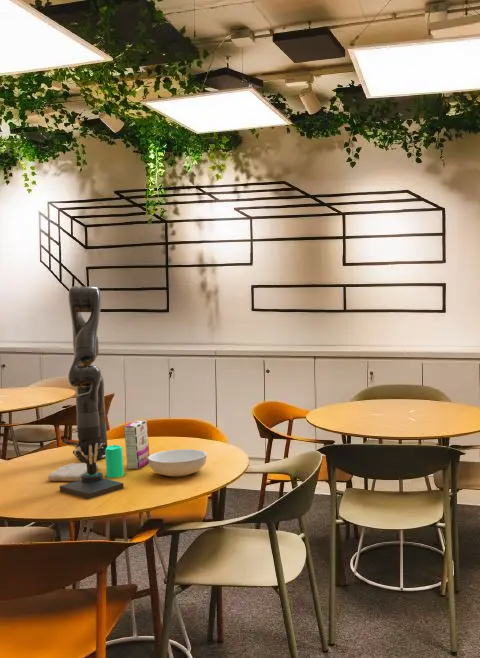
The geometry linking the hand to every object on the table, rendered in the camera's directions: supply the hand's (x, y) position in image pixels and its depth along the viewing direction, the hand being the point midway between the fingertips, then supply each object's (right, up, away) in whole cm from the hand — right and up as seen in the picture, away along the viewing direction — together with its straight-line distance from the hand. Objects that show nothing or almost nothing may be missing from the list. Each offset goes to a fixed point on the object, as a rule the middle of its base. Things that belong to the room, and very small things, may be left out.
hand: (91, 474), depth 232 cm
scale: (+1, -5, -6) cm, 7 cm away
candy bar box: (+11, 0, +25) cm, 27 cm away
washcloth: (-10, -3, +14) cm, 17 cm away
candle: (+5, -2, +12) cm, 13 cm away
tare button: (0, -2, 0) cm, 2 cm away
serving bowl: (+28, -2, +11) cm, 30 cm away
